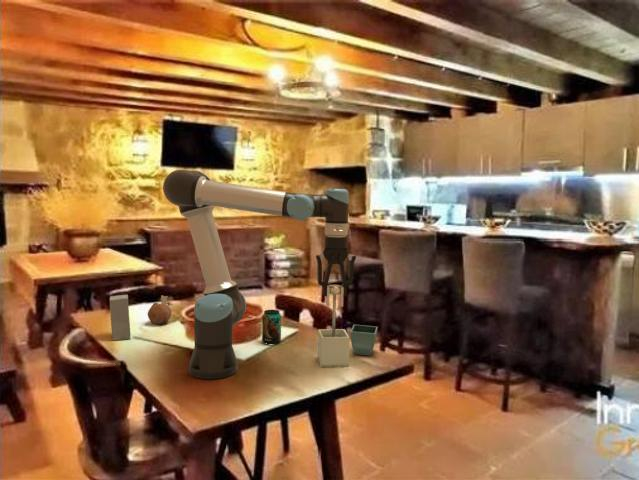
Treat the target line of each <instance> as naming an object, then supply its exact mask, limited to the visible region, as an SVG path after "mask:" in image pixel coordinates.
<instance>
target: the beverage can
mask: <svg viewBox="0 0 639 480" xmlns="http://www.w3.org/2000/svg"><path fill="white" fill-rule="evenodd" d="M261 319H262V321H261V323H262V324H261V325H262V327H261V329H262V331H261V342H262V343H263V342H264V343H267V344H276V345H278V344H279V343H281V341H282V314H281V313H280V310H278V309H267V310H264V311H263V315H262V317H261ZM264 343H263V344H264ZM267 344H266V345H267Z"/></svg>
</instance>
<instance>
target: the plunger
mask: <svg viewBox="0 0 639 480" xmlns="http://www.w3.org/2000/svg"><path fill="white" fill-rule="evenodd" d="M328 286H329V287H330V292H329V295H332V317H331V318H332V322H331V323H332V325H331V326H332V327H331V329H332V335H326V336H324V337H342V336H339V335H335V329H336V316H337V315H336V313H337V310H336V309H337V308H336V307H337V295H340V294H341V286H342V285H339V284H329V285H328Z"/></svg>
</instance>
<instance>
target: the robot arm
mask: <svg viewBox="0 0 639 480" xmlns="http://www.w3.org/2000/svg"><path fill="white" fill-rule="evenodd" d="M162 191H163V194H164V197H165V198H166V199H167V201H168V202H169V203H171V204H173V205H174V206H177V207H178V210H179V212H180V213H179V214H180V216H182V217H184V218H185V219H186V220H187V223H188V228H189V232H190V234H191V238H192V240H193V245H194V249H195V252H196V254H197V258H198V262H199V266H200V269H201V272H202V277H203V280H204V282H205V284H204V285H205V289H204V291H203V292H202V294H203V295H202V296H200V297H199V298H196V300H195V302H194V309H193V315H194V316H193V317H194V318H193V319H194V326H193V327H194V328H193V330H194V331H193V332H194V336H193V337H194V348H193V351H192V354H191V357H190V360H189V363H188V374H189V375H190V376H191V377H193V378H196V379H202V380H218V379H224V378H228V377H230V376H233V375H234V374H236V373H237V371H238V369H239V368H238V367H239V365H238V364H239V363H238V359H237V356H236V353H235V349H234V347H233V327H235V325H236V324H237V323H239V322H240V321H241V320H242V319H243V317H244V315H245V312H246V310H247V301H246V298H245V296H244V295H243V293H242V292H241V291H240V289H239V285H238V283H237V282H236V281H234V280H232V278H231V274H230V271H229V267H228V263H227V260H226V257H225V253H224V250H223V246H222V243H221V238H220V236H219V231H218V227H217V225H216V221H215V217H214V214H213V211H214V210H215V209H214V208H215V207H219V208H225V209H232V210H239V211H246V212H252V213H258V214H264V215H270V216H271V215H272V216H276V217H277V216H278V217H283V218H284V217H285V218H291V219H294V220H297V221H305V220H307V219H309V218H325V220H324V221H325V223H324V225H325V226H324V235H325V237H324V250H323V251H322V253H320V254H315V255H314V256H315V258H316V263H317V265H316V267H317V268H316V269H317V271H316V272H317V284H318V286H321V287H322V295H323V297H325V306H326V307H327V308H329V307H330V294H329V292H330V287H329V285H328V284H329V281H330V276H331V273H332V269H333V265H338V267H339V273H340V278H341V279H340V280H341V285H340V286H341V294H339V306H340V307H341V308H343V307H344V297H347V290H348V288H347V287H348V286H352V285H353V280H354V266H355V262H356V259H357V256H355V254H351V253H349V251H348V242H349V241H348V237H347V236H348V234H349V233H348V232H349V213H350V212H349V208H350V205H349V204H350V200H349V199H350V195H349V194H350V193H349V191H348V190H347V189H346V188H341V189H340V188H326V190H325V193H323V194H315V193H313V194H312V193H298V192H297V193H295V192H290V191H289V192H288V191H281V190H274V189H267V188H263V187H257V186H248V185H242V184H236V183H235V184H234V183H231V182H230V183H229V182H224V181H223V182H221V181H216V180H211V178H210V176H208V175H207V174H205V173H203V172H202V171H198V170H191V169H190V170H189V169H176V170H174V171H171V172H169V173H168V174H167V176H166V177H165V178H164V181H163V183H162ZM324 258H325V260H326V261H327V263H326V270H325V273H324V278H323V261H324ZM347 258H348V271H347V276H346V272H345V263H344V262H345V260H346V259H347Z"/></svg>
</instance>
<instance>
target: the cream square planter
mask: <svg viewBox="0 0 639 480" xmlns="http://www.w3.org/2000/svg"><path fill="white" fill-rule="evenodd" d="M326 335H332V328H331V329H329V328H328V329H327V328H326V329H325V328H324V329H318V330H317V357H316V358H317V360H318V363H319V366H320V368H349V366H350V365H349V363H350V340H351V336H350V335H349V334H348V332H347V331H346V329H345V328H344V329H343V328H340V329H339V328H335V335H339V336H342V337H324V336H326Z"/></svg>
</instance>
